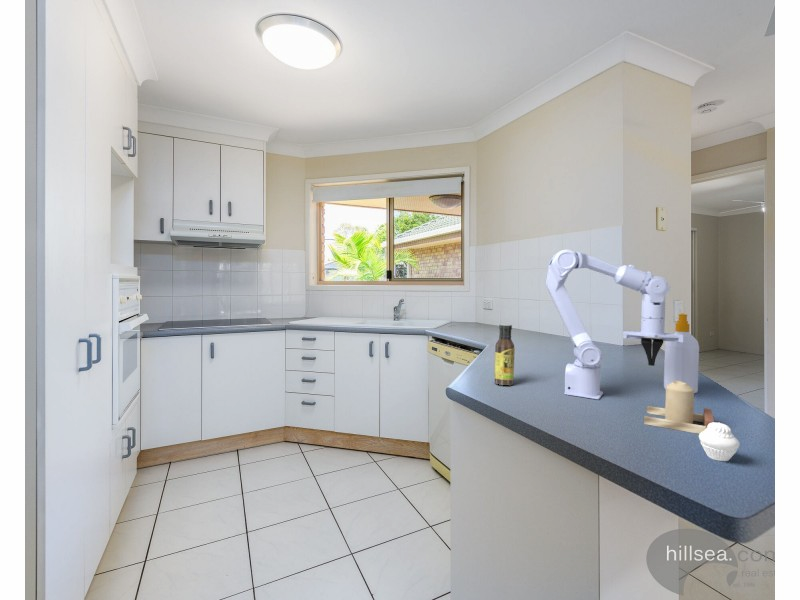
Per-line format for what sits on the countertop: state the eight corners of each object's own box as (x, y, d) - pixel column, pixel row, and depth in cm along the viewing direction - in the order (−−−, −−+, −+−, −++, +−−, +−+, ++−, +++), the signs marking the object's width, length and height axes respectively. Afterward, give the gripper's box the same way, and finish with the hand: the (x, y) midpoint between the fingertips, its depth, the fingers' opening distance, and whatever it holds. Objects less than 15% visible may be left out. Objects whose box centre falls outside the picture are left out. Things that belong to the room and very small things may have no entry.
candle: (697, 428, 91) (699, 385, 91) (671, 426, 92) (672, 384, 92) (685, 420, 97) (687, 379, 96) (660, 418, 98) (662, 378, 97)
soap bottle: (695, 388, 124) (698, 313, 123) (699, 395, 116) (701, 315, 115) (663, 384, 129) (665, 312, 128) (664, 391, 121) (666, 314, 120)
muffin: (726, 467, 72) (728, 430, 72) (691, 454, 78) (692, 419, 77) (746, 461, 75) (747, 425, 74) (709, 448, 80) (711, 415, 80)
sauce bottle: (505, 387, 126) (505, 326, 125) (490, 383, 131) (490, 324, 130) (518, 384, 130) (518, 324, 129) (503, 380, 135) (503, 323, 134)
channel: (644, 423, 94) (644, 410, 94) (647, 411, 103) (647, 399, 102) (713, 436, 86) (714, 422, 86) (710, 422, 95) (711, 409, 95)
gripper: (622, 317, 114) (621, 364, 114) (684, 320, 105) (682, 370, 106) (625, 315, 119) (623, 360, 120) (683, 318, 111) (682, 366, 112)
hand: (651, 365), depth 113 cm, fingers closed
